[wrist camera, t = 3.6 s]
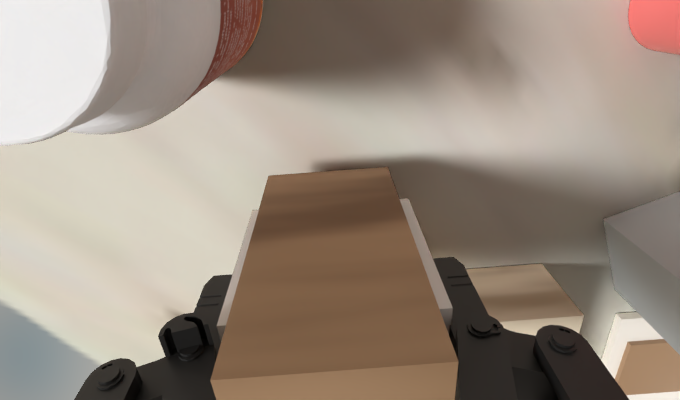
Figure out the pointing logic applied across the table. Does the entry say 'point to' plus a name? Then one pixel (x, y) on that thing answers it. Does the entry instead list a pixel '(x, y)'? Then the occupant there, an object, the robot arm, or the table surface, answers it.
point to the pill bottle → (112, 61)
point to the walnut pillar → (334, 299)
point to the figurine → (656, 24)
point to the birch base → (525, 298)
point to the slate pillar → (649, 262)
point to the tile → (641, 360)
